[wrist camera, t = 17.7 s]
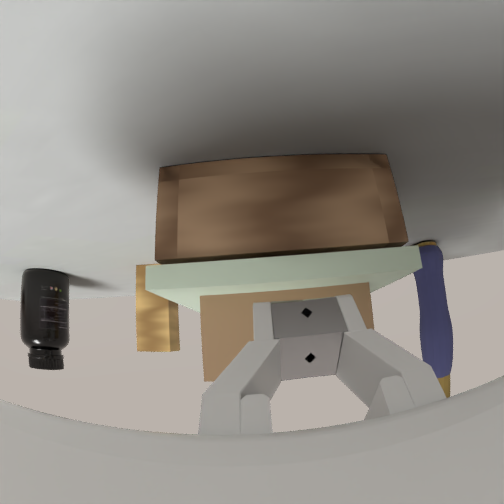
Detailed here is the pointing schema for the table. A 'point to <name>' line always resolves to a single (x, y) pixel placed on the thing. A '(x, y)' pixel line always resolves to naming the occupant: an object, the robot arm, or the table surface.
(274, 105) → the table surface
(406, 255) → the lid
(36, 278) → the supplement bottle
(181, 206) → the wooden box base
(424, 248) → the rubber mallet
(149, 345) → the light wooden block
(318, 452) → the robot arm
